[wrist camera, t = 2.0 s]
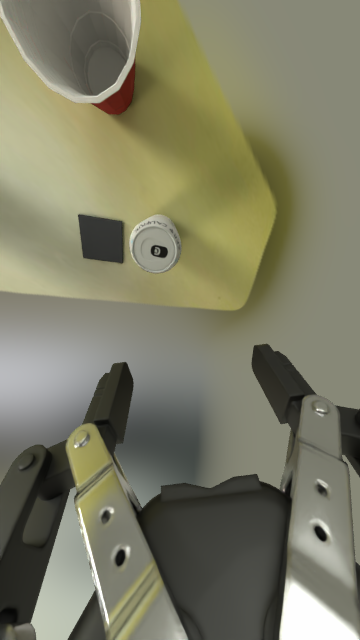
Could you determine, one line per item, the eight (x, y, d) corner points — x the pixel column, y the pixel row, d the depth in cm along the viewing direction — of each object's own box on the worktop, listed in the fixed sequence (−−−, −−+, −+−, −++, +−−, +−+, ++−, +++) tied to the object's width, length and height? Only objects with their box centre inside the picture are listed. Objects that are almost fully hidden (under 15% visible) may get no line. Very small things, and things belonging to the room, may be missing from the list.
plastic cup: (43, 61, 22) (-66, -66, 12) (109, -25, 19) (44, -287, 9) (109, 161, 27) (73, 134, 17) (168, 104, 24) (170, 30, 14)
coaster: (84, 257, 34) (83, 258, 33) (78, 214, 30) (77, 214, 30) (122, 262, 35) (122, 263, 34) (122, 221, 31) (121, 221, 31)
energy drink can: (144, 210, 30) (128, 212, 18) (179, 218, 31) (188, 226, 19) (141, 247, 33) (124, 272, 21) (173, 254, 34) (176, 282, 22)
